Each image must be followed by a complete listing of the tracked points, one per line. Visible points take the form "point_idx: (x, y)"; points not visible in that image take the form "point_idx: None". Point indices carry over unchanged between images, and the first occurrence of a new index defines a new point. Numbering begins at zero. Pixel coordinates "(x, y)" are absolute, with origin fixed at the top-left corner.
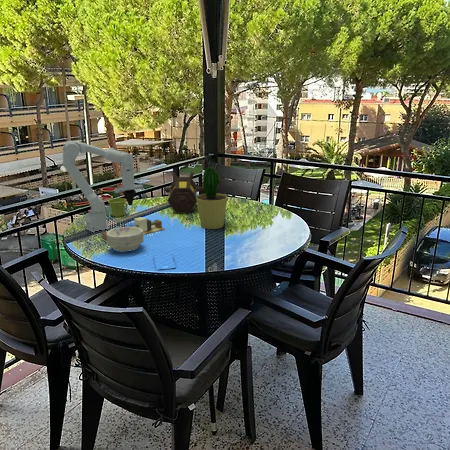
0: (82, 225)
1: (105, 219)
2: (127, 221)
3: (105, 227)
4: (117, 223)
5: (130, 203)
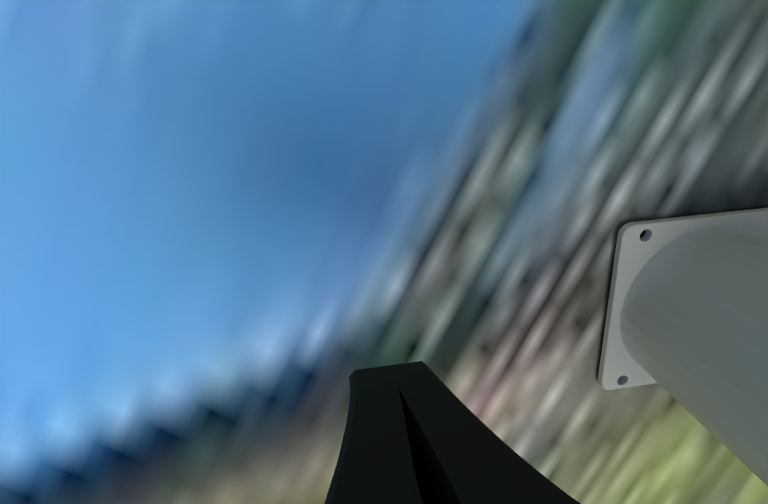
0: (714, 475)
1: (746, 298)
2: (322, 383)
3: (683, 243)
4: (450, 372)
5: (427, 386)
